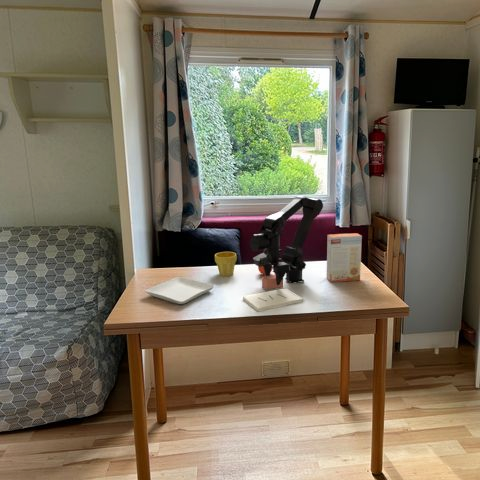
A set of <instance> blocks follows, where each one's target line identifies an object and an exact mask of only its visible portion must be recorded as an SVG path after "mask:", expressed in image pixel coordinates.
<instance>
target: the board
mask: <svg viewBox="0 0 480 480" xmlns="http://www.w3.org/2000/svg"><path fill="white" fill-rule="evenodd" d="M242 300H244V302H246V303H247V304H248V305H250V307H252V308H253V309H255V311H257V312H261V311H265V310H269V309H273V308H279V307H284V306H288V304H289V305H293V304H296V303H302V302H303V301H304V299H303V297H301V296H300V295H298V294H296V293H294V292H293V291H291V290H290V289H288V288H286V287H283V288H279V289H273V290H268V291H265V292H258V293H253V294H249V295H248V294H247V295H243V296H242ZM260 310H261V311H260Z"/></svg>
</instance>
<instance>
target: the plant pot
mask: <svg viewBox="0 0 480 480" xmlns="http://www.w3.org/2000/svg"><path fill="white" fill-rule="evenodd" d="M237 259H238V257H237V253H236V252H233V251H221V252H217V253H215V254H214V262H215V263H216V265H217V270H218V273H219V275H220V276H222V277H229V276H233V275H234V273H235V271H234V270H235V264H236V262H237Z"/></svg>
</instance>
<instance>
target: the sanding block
mask: <svg viewBox="0 0 480 480" xmlns="http://www.w3.org/2000/svg"><path fill="white" fill-rule="evenodd" d="M261 288H262V289H264V290H265V292H268V291H273V290H278V289H284V278H283V279H282V281H281V283H280V285H277V283H276V275H275V274H270V275H269V276H266V275H265V276H264V275H263V276H261Z"/></svg>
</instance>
